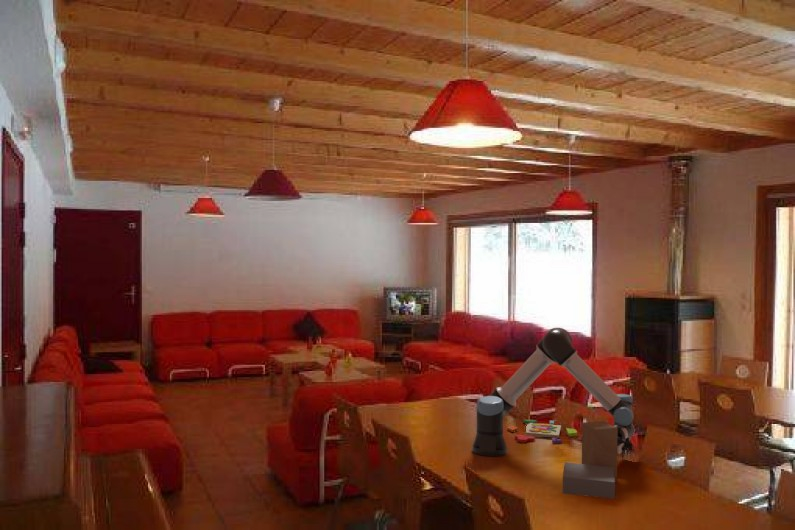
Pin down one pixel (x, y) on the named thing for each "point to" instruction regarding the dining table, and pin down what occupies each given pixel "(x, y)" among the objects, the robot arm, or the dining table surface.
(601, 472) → the plinth
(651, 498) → the dining table surface
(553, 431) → the pattern blocks set
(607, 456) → the wooden block
